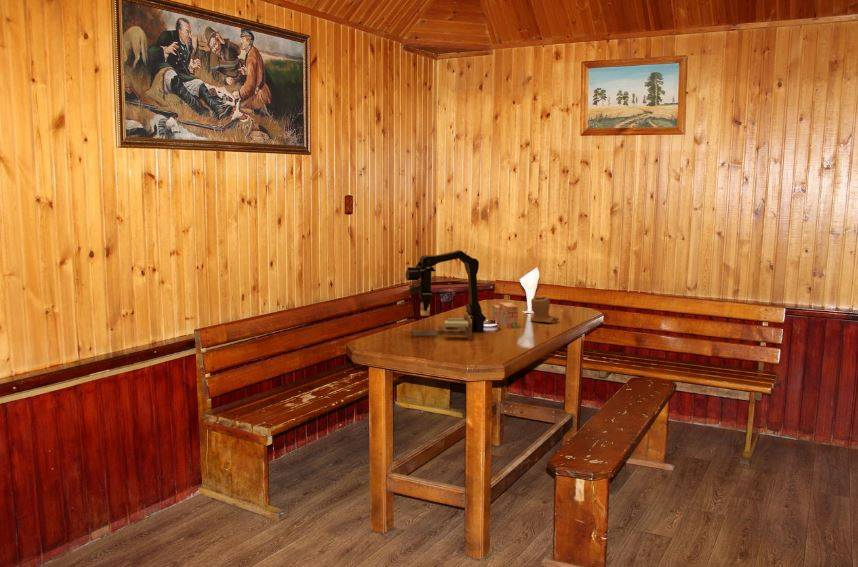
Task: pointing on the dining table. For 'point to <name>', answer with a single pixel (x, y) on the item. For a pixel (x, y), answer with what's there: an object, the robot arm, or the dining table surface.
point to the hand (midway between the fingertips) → (425, 310)
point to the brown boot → (542, 310)
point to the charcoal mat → (424, 333)
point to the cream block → (425, 313)
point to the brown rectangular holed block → (457, 329)
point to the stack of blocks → (506, 314)
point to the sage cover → (456, 322)
